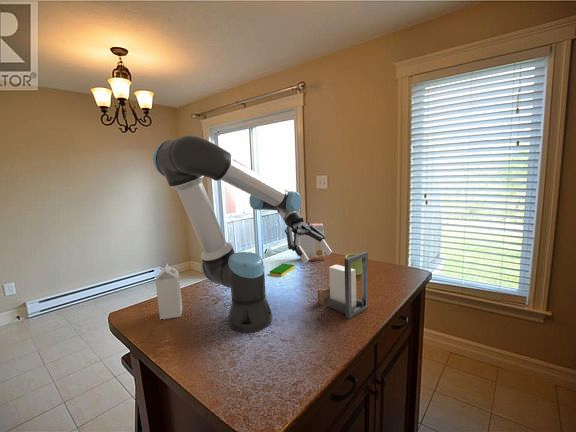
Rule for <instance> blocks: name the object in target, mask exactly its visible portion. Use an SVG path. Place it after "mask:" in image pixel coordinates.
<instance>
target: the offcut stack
mask: <svg viewBox="0 0 576 432" xmlns="http://www.w3.org/2000/svg"><path fill="white" fill-rule="evenodd" d="M328 298H330V283H329V284H327V285H324V286H322V287H320V288H318V289H317V304H319V305H322V306H325V305H326V306H327V299H328Z"/></svg>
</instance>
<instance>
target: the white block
mask: <svg viewBox="0 0 576 432" xmlns="http://www.w3.org/2000/svg"><path fill="white" fill-rule="evenodd" d="M328 271H329V272H328V274H329V275H328V277H329V284H330V299H333V300H335V301H338V302H341V303H343V304H345V265H344V266H343V265H340V264H334V265H333V264H332V265H331V266H329V269H328ZM351 297H352V307H353V309H354V308H356V299H357V275H356V270H355V269H352V268H351Z"/></svg>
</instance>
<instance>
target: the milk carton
mask: <svg viewBox="0 0 576 432" xmlns="http://www.w3.org/2000/svg"><path fill="white" fill-rule="evenodd" d="M180 281H181V280H180V274H179V271H178V270H177V268H175V267H172V266H169V263H167V262H166V265H165V267H164V269H162V271H161V272H160V273H158V275H157V277H156V279H155V281H154V282H155V288H156V295H157V305H158V312H159V320H160V321H161V319H163V320H167V319H172V318H173V319H174V318H179V317H182V312H183V309H184V308H183V299H182V291H181V282H180Z"/></svg>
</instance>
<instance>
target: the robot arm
mask: <svg viewBox="0 0 576 432" xmlns="http://www.w3.org/2000/svg"><path fill="white" fill-rule="evenodd" d="M152 161H153V166H154V168H155V170H156V171H157V172H158V173H159V174H160V175H161V176H162V177H165V179H166V182H167V184H168V186H169V188H171V189H174V190H175V191H176V192H177V194H178V197H179V200H180V201H181V204H182V205H183V208H184V210H185V213H186V215H187V217H188V219H189V222H190V223H191V226H192V228H193V231H194V232H195V236H196V238H197V240H198V243H199V245H200V247H201V249H202V253H201V254H200V259H201V261H202V262H201V264H200V268H201V272H202V275H204V277H205V278H206V279H207V280H208V281H210V282H212V283H216V284H218V285H221V286H224V287H225V288H229V289H230V296H231V297H230V298H231V305H230V309H229V313H228V316H227V320H228V327H229V328H230V329H231V330H233V331H235V332H238V333H253V332H258V331H261V330H262V329H265V328H266V327H268V326H270V324H271V322H272V320H273V313H272V309H271V307H270V304H269V302H268V300H267V297H266V278H265V265H264V260H263V257H262V256H261V255H259V254H257V253H255V252H251V251H248V252H246V251H239V252H235V250H234V248H233V245H232V243H230V242H228V241H226V238H225V236H224V233H223V231H222V227H221V226H220V223H219V221H218V217H217V216H216V213H215V211H214V207H213V206H212V203H211V201H210V198H209V195H208V193H207V191H206V188H205V185H204V183H203V180H204V177H205V178H209V179H211V180H214V181H216V182H218V181H220V180H221V181H223V182H224V183H226V184H229V185H230V186H233V187H235V188H237V189H238V190H240V191H243V192H245V193H246V194H249V195H250V196H249V205H250V207H251V208H252V209H253V210H256V211H257V210H258V211H261V210H263V211H264V210H267V211H277V213H278V214H279V216H280V218H281V219H282V220H283V222H284V224H285V225H286V227H285V229H284V232H285V235H286V242H287V246H288V247H287V248H288V250H291V251H293V252H295V253H296V255H297V256H298V257H300V260H301V259H302V261H301V262H303V264H307V263H308V262H309V261H308V260H309V258H308V257H307V255H306V254H305V252H304V251H303V249H302V248H301V246H300V245H299V243H300V238H299V236H301V235H308V236H310V237H312V238H314V239H316V240H317V241H319V242H320V243H319V244H320V245H321V247H322V248H323V250H324V254H326V256H329V255H330V254H332V252H333V251H332V249H331V248H330V247H329V244H328V243H327V240H326V238H327V235H326V234H325V232H324V233H322V232H321V231H320V230H318V229H317V228H316V227H315V226H313V225H312V224H313V223H312V222H311V221H308V222H305V221H304V218H303V216H302V215H301V213H300V211H299V210H300V209H301V207H302V203H303V199H302V196H301V194H300V193H299V192H298V191H292V190H290V191H288V190H287V189H284V187H282V186H280V185H278V184H276V183H274V182H273V181H271V180H269V179H268V178H267V177H264V176H263V175H261V174H260V173H258V172H256V171H254V170H253V169H251V168H250V167H248V166H246V165H244V164H242V163H241V162H239V161H237V160H236V159H234V158H233V157H232V154H231V153H230V152H229V151H227V150H225V149H224V148H222V147H220V146H219V145H216V144H215V143H213V142H211V141H209V140H207V139H205V138H202V137H200V136H196V135H184V136H180V137H176V138H172V139H167V140H165V141H163V142H161V143H160V144H159V145H157V147H156V148H155V150H154V152H153V156H152ZM307 230H308V231H307Z"/></svg>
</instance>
